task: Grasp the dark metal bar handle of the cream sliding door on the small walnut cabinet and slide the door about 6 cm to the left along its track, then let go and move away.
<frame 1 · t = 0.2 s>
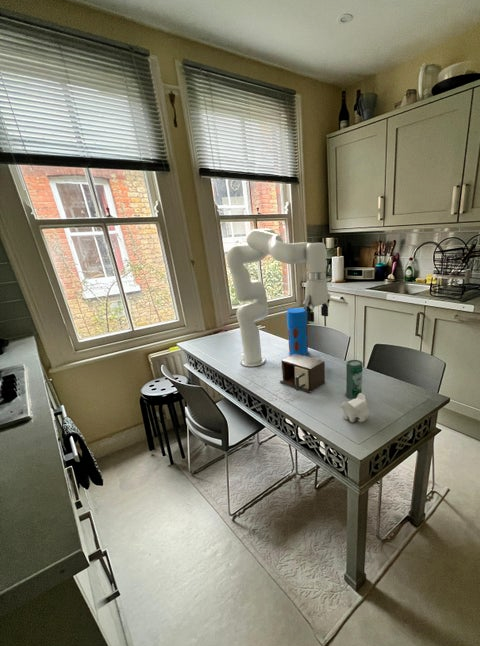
hand: (317, 318, 132), 31 cm above the table, tool pointing down, fingers open, 9 cm apart
elephant figurine: (355, 419, 118), on the table
can: (353, 395, 134), on the table
door: (297, 380, 137), point 6 cm above the table, slide at 0.0 cm
cabinet: (303, 382, 147), on the table
thermos: (298, 353, 181), on the table
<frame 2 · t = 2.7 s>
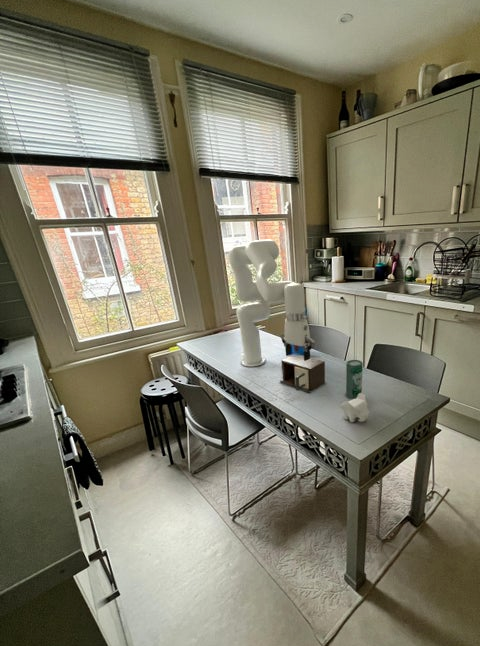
hand: (297, 357, 129), 17 cm above the table, tool pointing down, fingers open, 9 cm apart
nothing on the table moved.
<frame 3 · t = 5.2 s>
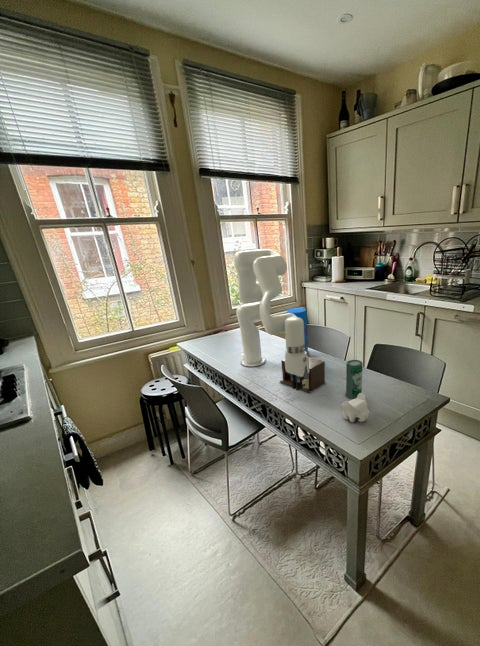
hand: (297, 388, 135), 3 cm above the table, tool pointing down, fingers closed
door: (297, 380, 137), point 6 cm above the table, slide at 0.0 cm, touching gripper
everything else where it was.
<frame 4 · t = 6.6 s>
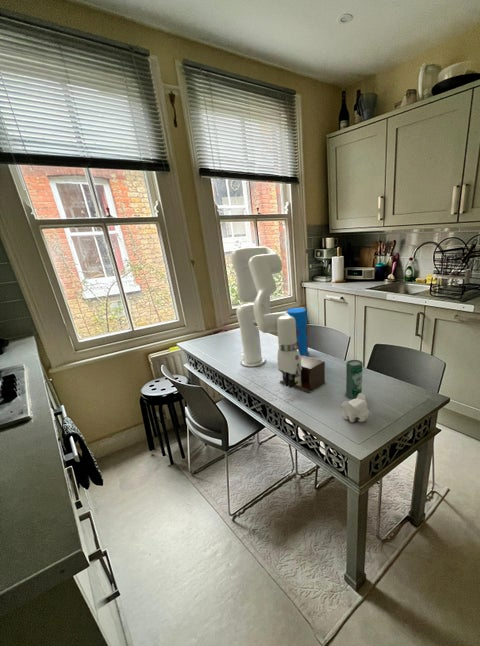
hand: (290, 385, 137), 3 cm above the table, tool pointing down, fingers closed
door: (290, 377, 139), point 6 cm above the table, slide at 4.2 cm, touching gripper
everything else where it was.
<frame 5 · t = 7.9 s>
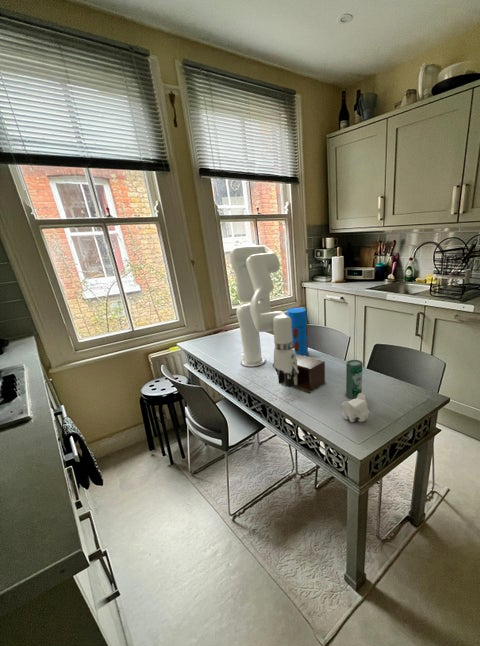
hand: (286, 383, 139), 4 cm above the table, tool pointing down, fingers open, 4 cm apart
door: (286, 376, 140), point 6 cm above the table, slide at 6.5 cm
everything else where it was.
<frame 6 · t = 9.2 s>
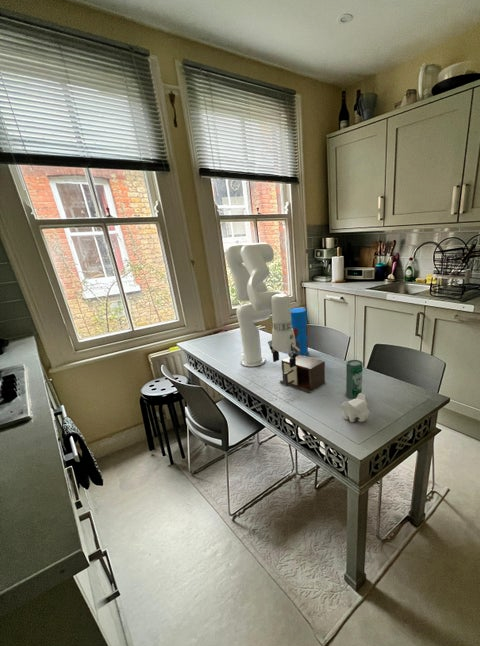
hand: (284, 363, 135), 13 cm above the table, tool pointing down, fingers open, 9 cm apart
nothing on the table moved.
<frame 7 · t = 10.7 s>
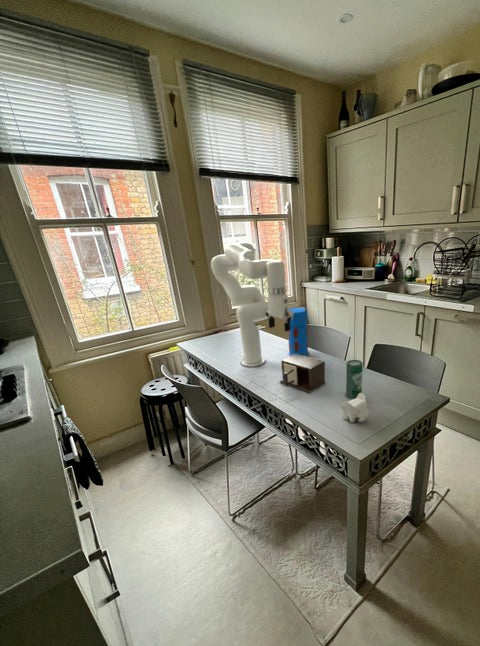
hand: (279, 328, 143), 24 cm above the table, tool pointing down, fingers open, 9 cm apart
nothing on the table moved.
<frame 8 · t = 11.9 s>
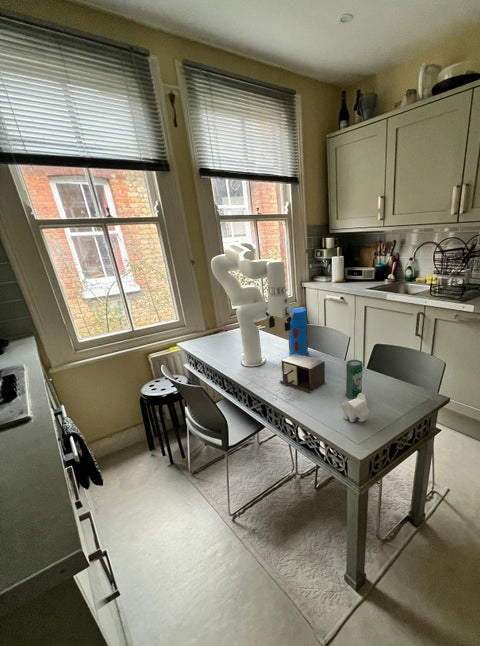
hand: (279, 328, 143), 24 cm above the table, tool pointing down, fingers open, 9 cm apart
nothing on the table moved.
at the end: door slide at 6.5 cm; the gripper is holding nothing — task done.
